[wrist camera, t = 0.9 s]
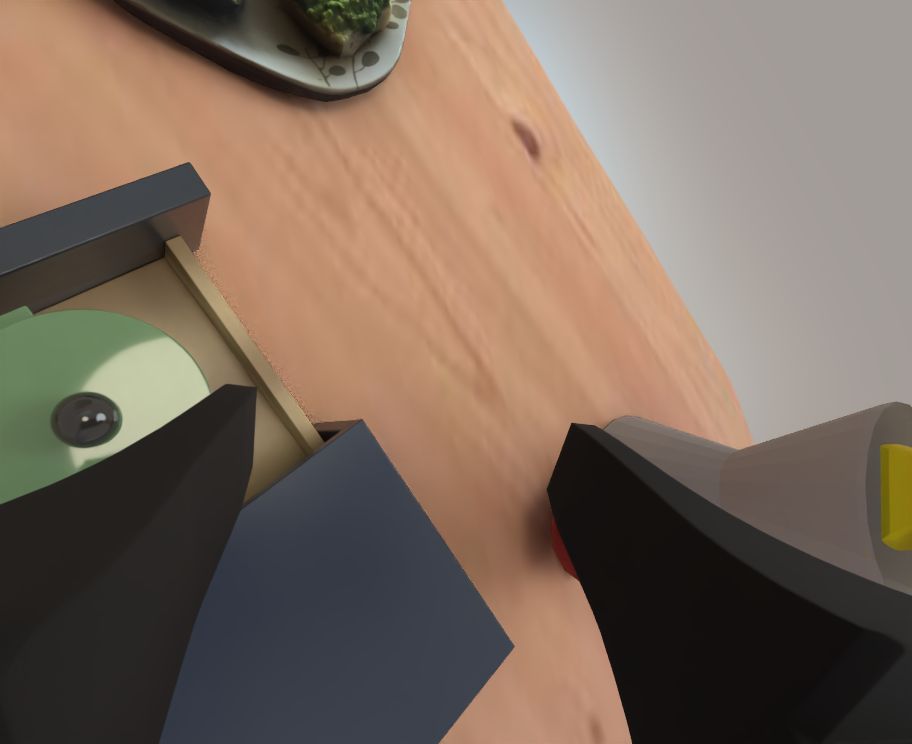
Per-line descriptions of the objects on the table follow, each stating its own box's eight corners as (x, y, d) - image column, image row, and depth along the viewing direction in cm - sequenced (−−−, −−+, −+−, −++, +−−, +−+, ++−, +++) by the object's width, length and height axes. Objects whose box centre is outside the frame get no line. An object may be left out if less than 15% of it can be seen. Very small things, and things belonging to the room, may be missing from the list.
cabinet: (5, 643, 17) (-63, 735, 12) (317, 422, 24) (362, 418, 18) (209, 857, 20) (227, 1012, 14) (443, 603, 26) (515, 646, 21)
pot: (90, 553, 18) (48, 624, 11) (-52, 389, 16) (-196, 358, 10) (237, 452, 20) (276, 461, 14) (128, 304, 19) (112, 236, 12)
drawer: (-276, 357, 15) (-499, 318, 10) (161, 194, 21) (162, 120, 16) (35, 683, 17) (-14, 782, 12) (339, 451, 24) (387, 455, 19)
